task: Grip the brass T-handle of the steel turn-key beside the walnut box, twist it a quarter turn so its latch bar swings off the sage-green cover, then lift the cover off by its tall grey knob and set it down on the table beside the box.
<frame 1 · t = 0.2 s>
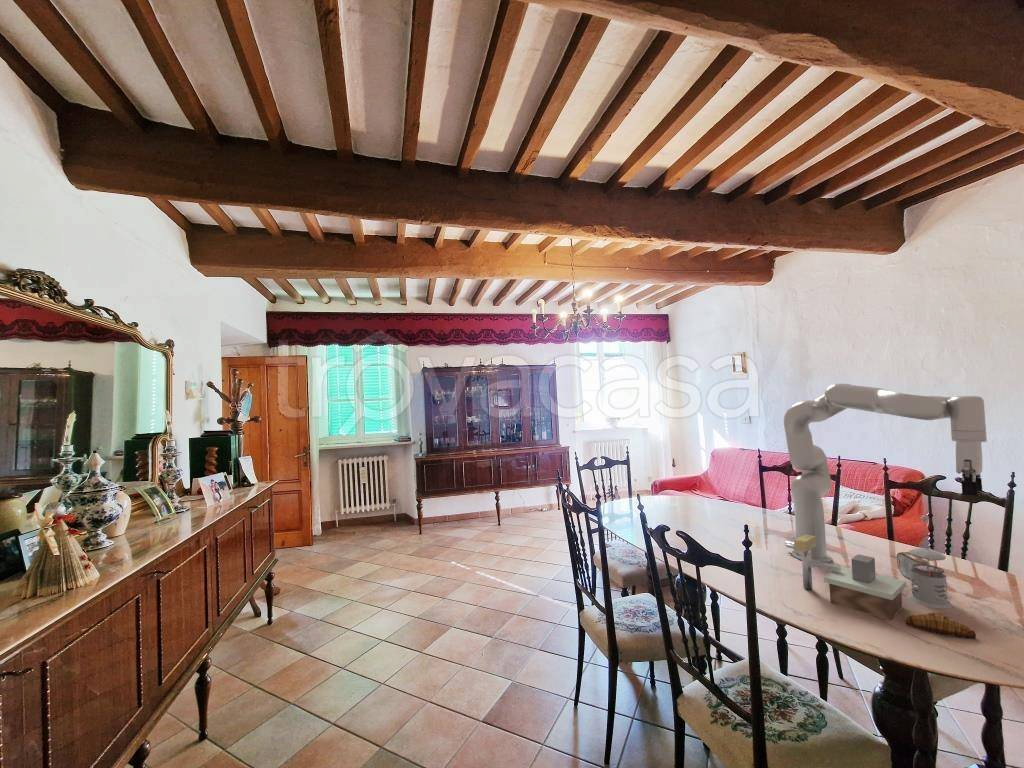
hand: (972, 492, 135), 31 cm above the table, tool pointing down, fingers open, 9 cm apart
key: (820, 566, 140), point 8 cm above the table, hinge at 0.0°
tin: (915, 582, 146), on the table
french press: (930, 600, 133), on the table
cover: (864, 584, 131), point 6 cm above the table, touching housing
croissant: (939, 633, 115), on the table
housing: (865, 604, 131), on the table
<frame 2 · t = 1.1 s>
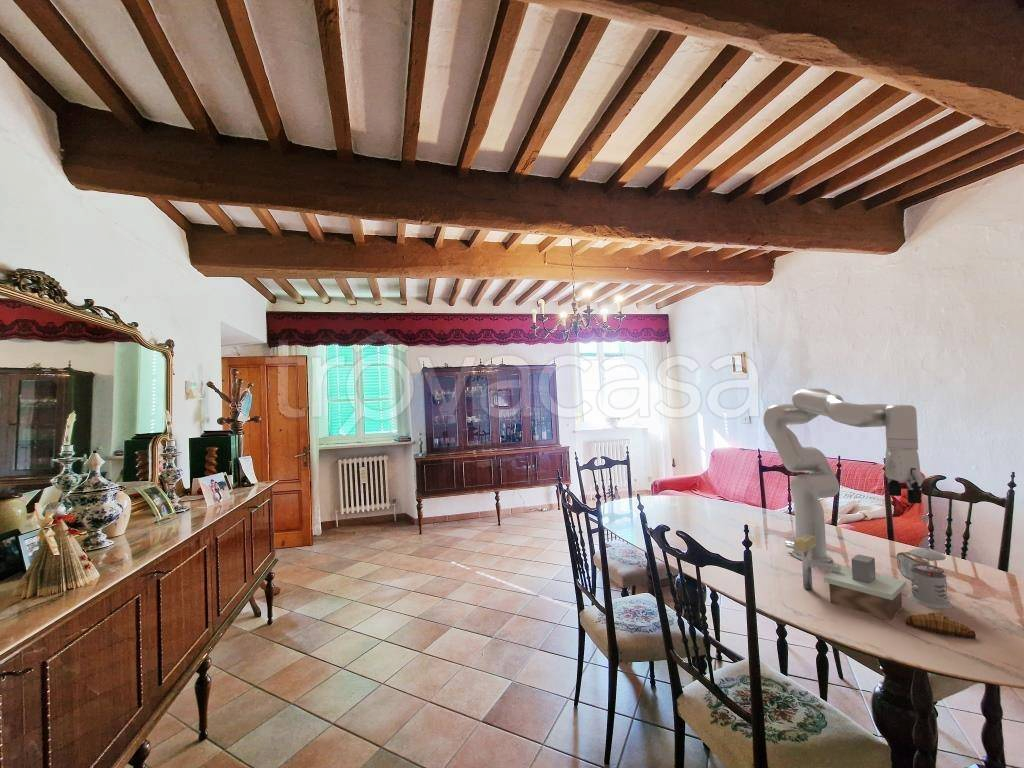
hand: (904, 499, 139), 29 cm above the table, tool pointing down, fingers open, 9 cm apart
nothing on the table moved.
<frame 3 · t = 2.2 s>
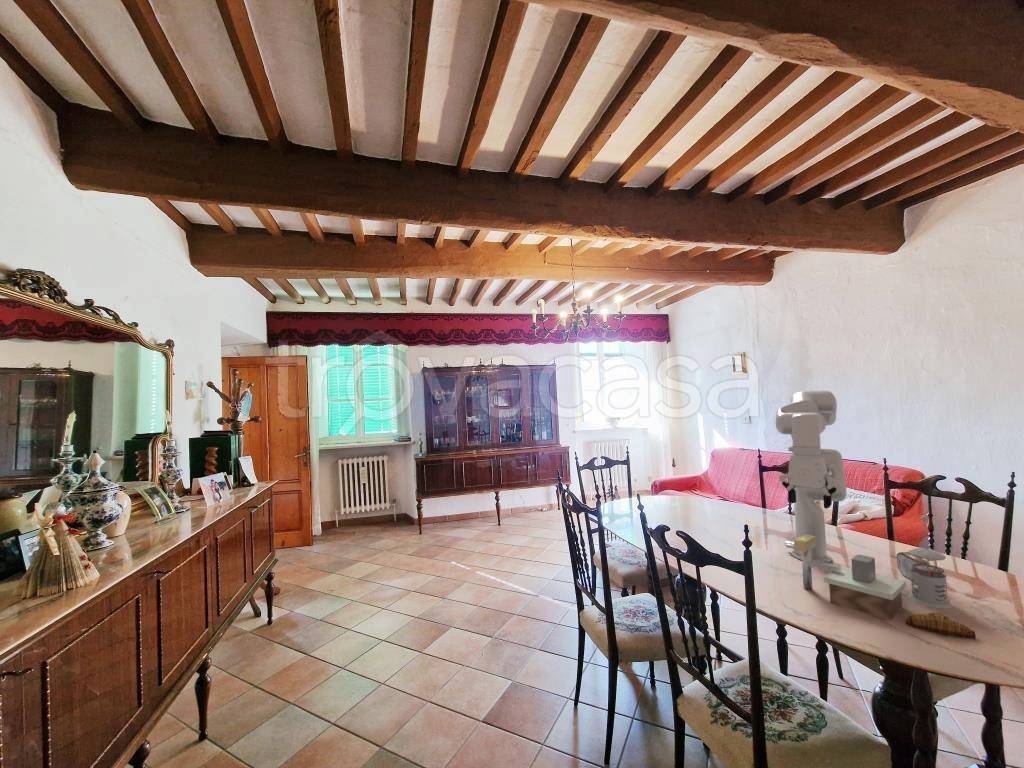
hand: (809, 505, 143), 27 cm above the table, tool pointing down, fingers open, 9 cm apart
nothing on the table moved.
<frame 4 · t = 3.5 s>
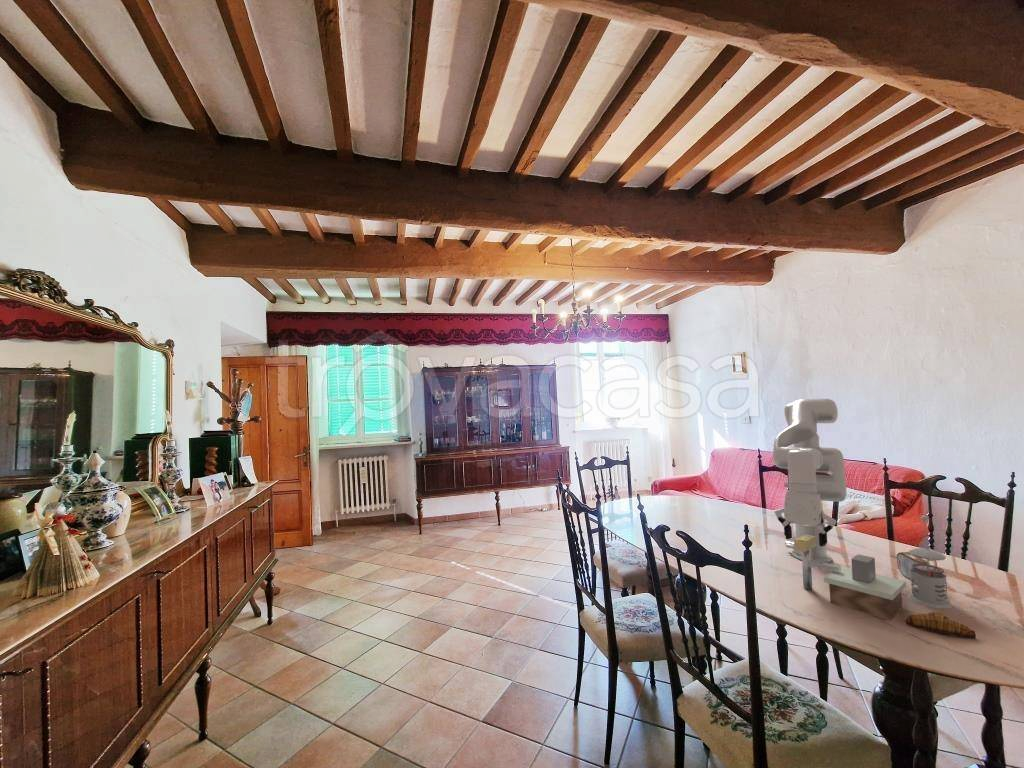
hand: (805, 541, 143), 15 cm above the table, tool pointing down, fingers open, 9 cm apart
nothing on the table moved.
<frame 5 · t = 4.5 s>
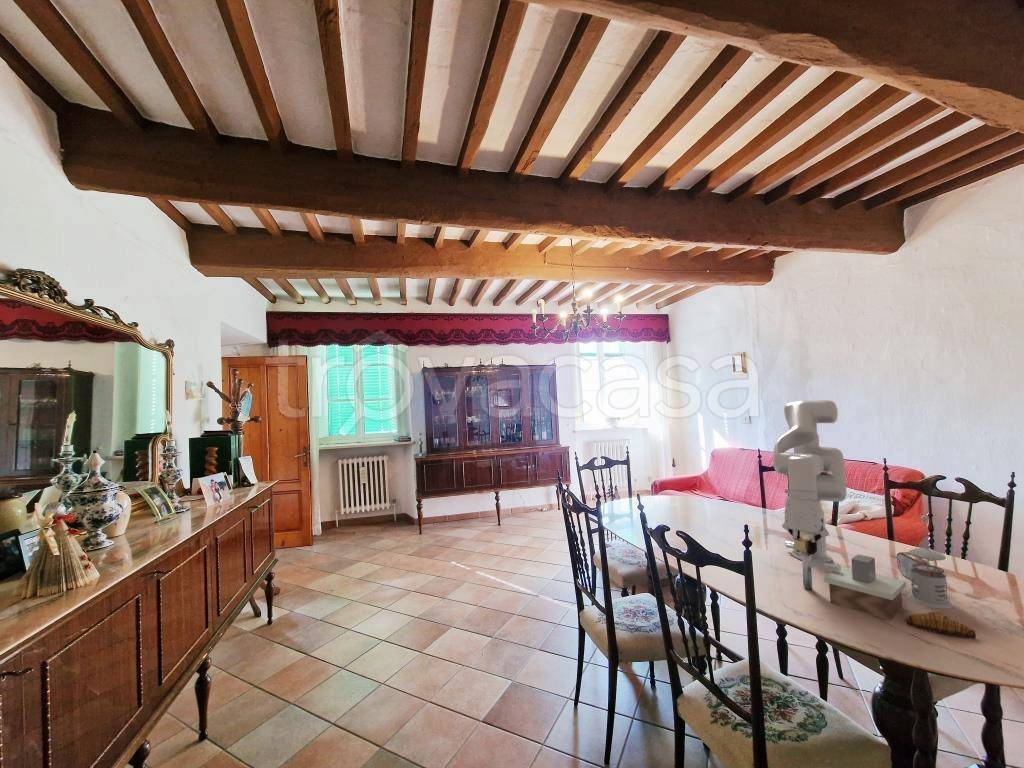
hand: (806, 551, 143), 12 cm above the table, tool pointing down, fingers closed on key, 3 cm apart
key: (820, 566, 140), point 8 cm above the table, hinge at 0.0°, touching gripper
everything else where it was.
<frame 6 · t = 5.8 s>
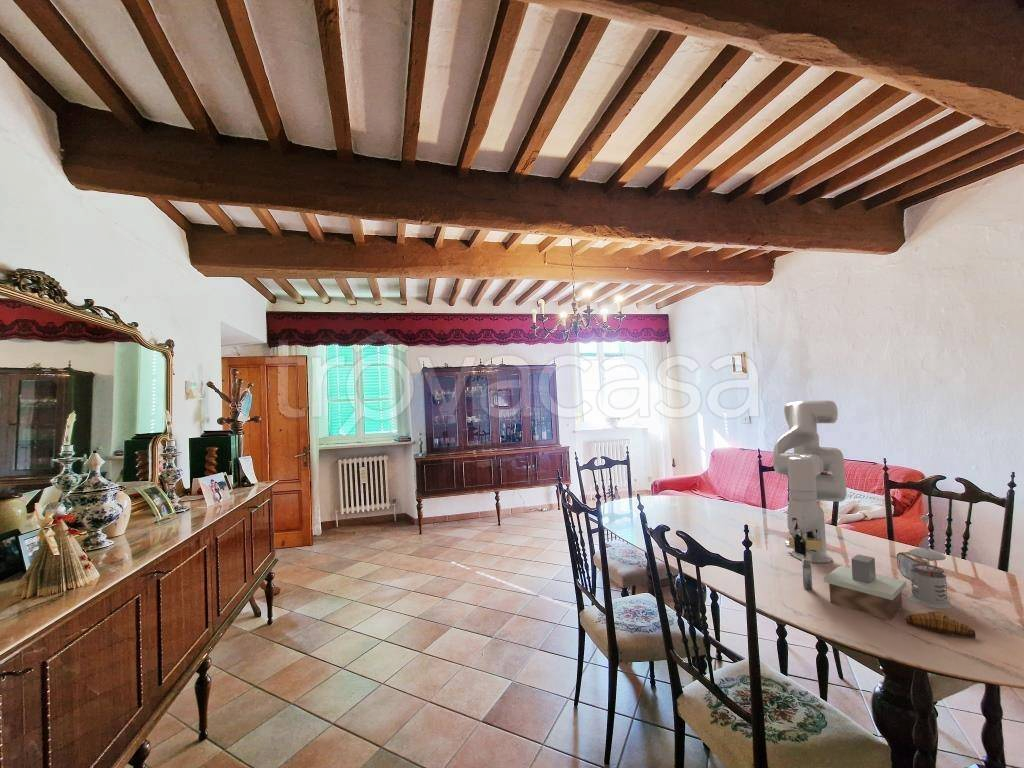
hand: (805, 551, 143), 12 cm above the table, tool pointing down, fingers closed on key, 5 cm apart
key: (806, 566, 140), point 8 cm above the table, hinge at -70.3°, touching gripper
everything else where it was.
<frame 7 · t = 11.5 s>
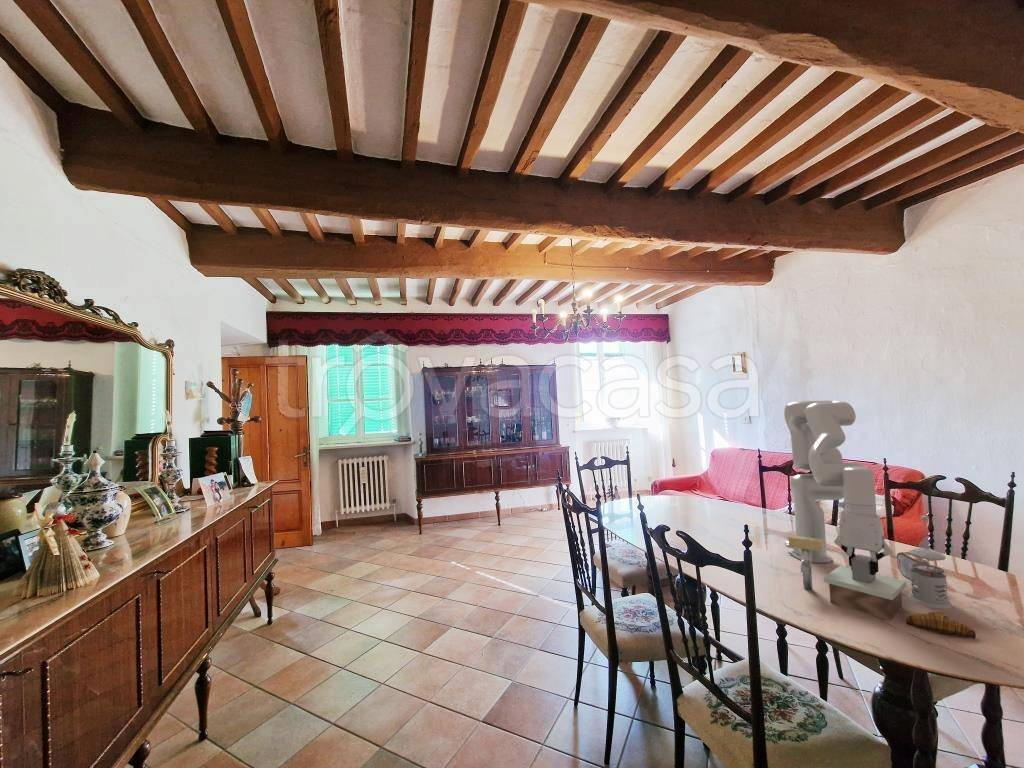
hand: (863, 571, 131), 10 cm above the table, tool pointing down, fingers closed on cover, 4 cm apart
key: (805, 566, 140), point 8 cm above the table, hinge at -73.9°
cover: (864, 584, 131), point 6 cm above the table, touching gripper, housing
everything else where it was.
when the fingers open (6 cm above the table, at t = 18.9 s): cover drops 3 cm, on the table.
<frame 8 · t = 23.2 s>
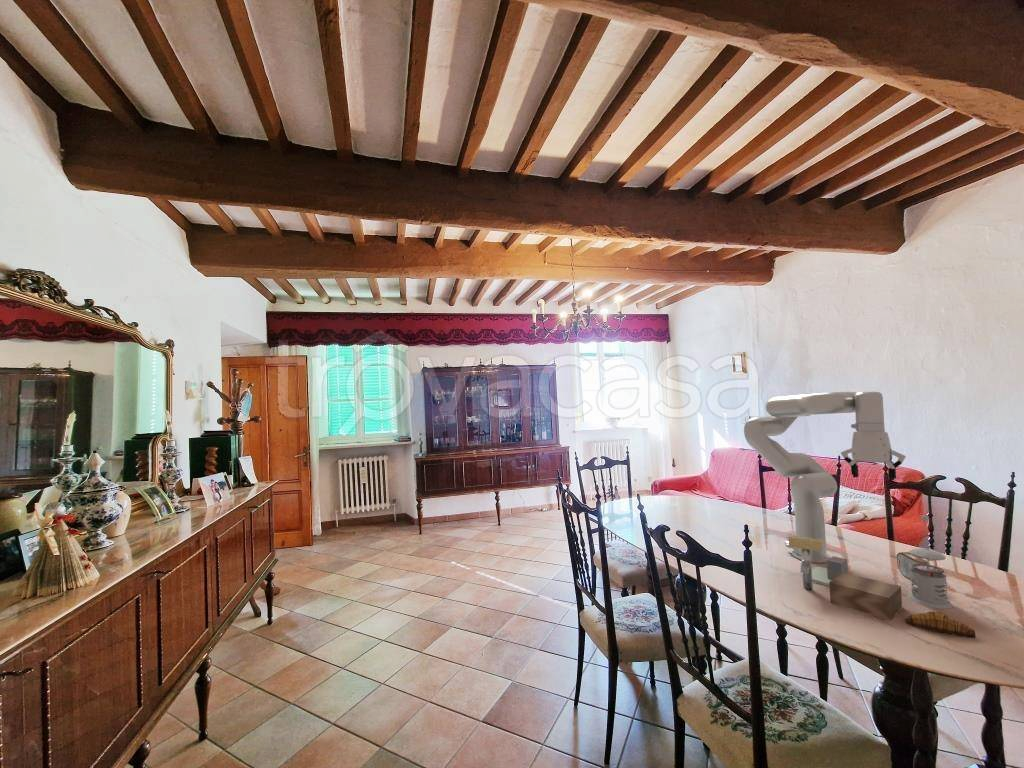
hand: (873, 478, 150), 33 cm above the table, tool pointing down, fingers open, 9 cm apart
cover: (838, 582, 148), on the table
everything else where it was.
at the end: key at -74° (first picture: +0°); cover touching table; cover inside the target area (0.1 cm from its centre), on the table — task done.
